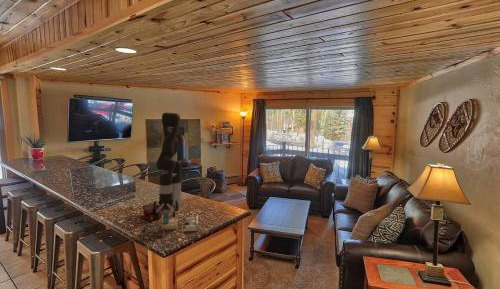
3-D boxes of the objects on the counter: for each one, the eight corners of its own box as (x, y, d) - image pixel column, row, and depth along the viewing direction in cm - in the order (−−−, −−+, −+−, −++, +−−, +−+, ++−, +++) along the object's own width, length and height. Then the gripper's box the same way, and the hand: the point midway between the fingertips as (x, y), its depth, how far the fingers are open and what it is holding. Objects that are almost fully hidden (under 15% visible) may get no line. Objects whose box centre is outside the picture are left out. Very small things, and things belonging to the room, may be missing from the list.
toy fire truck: (164, 217, 174) (164, 202, 173) (146, 223, 165) (146, 207, 164) (158, 215, 179) (158, 200, 177) (140, 220, 169) (140, 204, 168)
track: (147, 224, 162) (147, 221, 162) (180, 223, 166) (180, 220, 165) (144, 231, 153) (144, 227, 153) (178, 230, 157) (178, 226, 157)
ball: (188, 224, 164) (189, 218, 164) (195, 225, 165) (196, 219, 165) (188, 227, 160) (189, 221, 160) (195, 228, 161) (196, 221, 161)
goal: (186, 222, 168) (186, 215, 168) (198, 221, 170) (198, 215, 169) (185, 231, 156) (185, 223, 155) (197, 230, 157) (197, 223, 156)
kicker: (162, 223, 163) (162, 209, 162) (177, 223, 165) (177, 208, 164) (160, 229, 155) (160, 214, 154) (176, 228, 157) (176, 213, 156)
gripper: (178, 189, 162) (178, 214, 164) (154, 189, 160) (154, 215, 162) (177, 193, 155) (177, 219, 157) (152, 193, 152) (152, 220, 154)
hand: (165, 217), depth 159 cm, fingers open, 8 cm apart
